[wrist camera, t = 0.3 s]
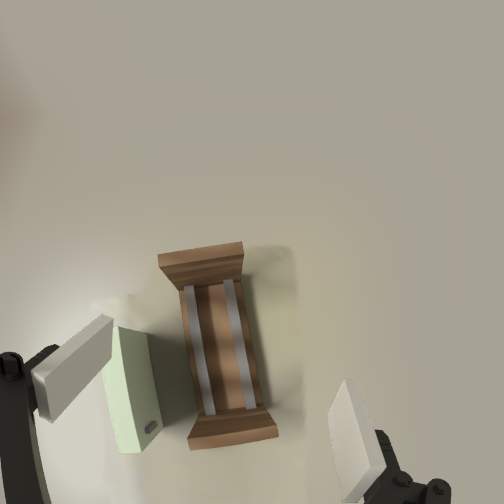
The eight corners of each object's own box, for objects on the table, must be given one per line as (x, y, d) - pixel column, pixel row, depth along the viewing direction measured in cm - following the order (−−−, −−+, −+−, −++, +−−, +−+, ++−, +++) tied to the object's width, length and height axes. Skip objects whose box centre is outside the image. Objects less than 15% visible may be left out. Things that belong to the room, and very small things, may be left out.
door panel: (167, 427, 44) (146, 452, 31) (146, 428, 44) (119, 452, 30) (150, 332, 49) (122, 325, 35) (129, 335, 48) (96, 328, 35)
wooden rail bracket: (263, 411, 46) (278, 436, 31) (202, 420, 45) (190, 450, 30) (238, 273, 52) (241, 241, 37) (178, 283, 51) (157, 254, 36)
